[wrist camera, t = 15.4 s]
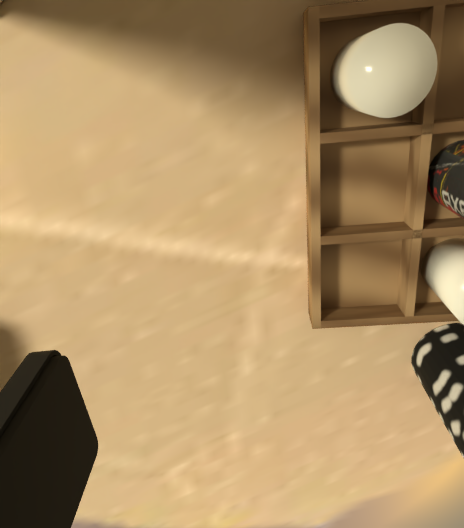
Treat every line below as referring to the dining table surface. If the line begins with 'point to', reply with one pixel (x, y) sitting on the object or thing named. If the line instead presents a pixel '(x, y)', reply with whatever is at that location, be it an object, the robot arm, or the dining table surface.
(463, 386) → the spotted tube
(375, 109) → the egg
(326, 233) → the crate
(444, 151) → the deodorant
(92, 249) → the dining table surface
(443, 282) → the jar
